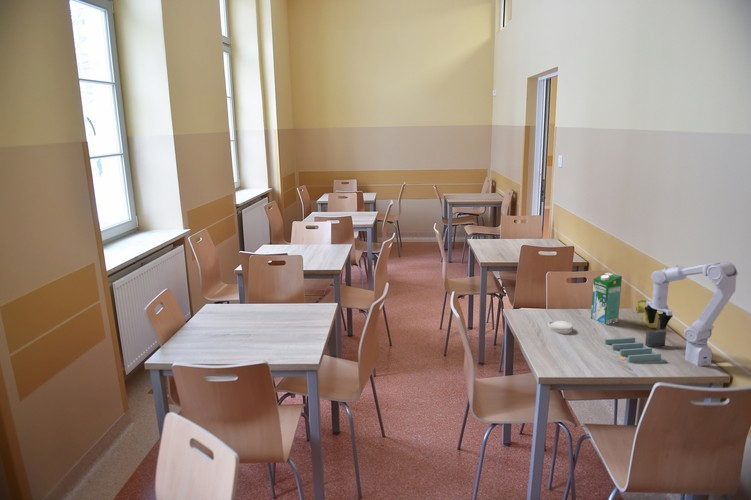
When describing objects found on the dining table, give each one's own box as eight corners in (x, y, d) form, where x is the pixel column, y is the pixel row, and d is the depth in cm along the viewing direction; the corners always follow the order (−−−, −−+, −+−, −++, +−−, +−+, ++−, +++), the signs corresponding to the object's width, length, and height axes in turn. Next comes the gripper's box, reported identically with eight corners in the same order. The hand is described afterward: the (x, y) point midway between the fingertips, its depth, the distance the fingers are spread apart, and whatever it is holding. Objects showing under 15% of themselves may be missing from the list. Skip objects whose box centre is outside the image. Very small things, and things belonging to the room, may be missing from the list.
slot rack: (666, 362, 218) (667, 354, 217) (625, 365, 216) (626, 357, 215) (636, 343, 238) (636, 336, 237) (598, 345, 236) (599, 338, 235)
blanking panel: (664, 346, 234) (666, 331, 232) (647, 347, 233) (649, 332, 231) (661, 344, 236) (663, 330, 234) (645, 345, 235) (646, 331, 233)
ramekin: (552, 328, 258) (553, 318, 256) (575, 333, 251) (576, 323, 250) (543, 335, 249) (544, 325, 248) (567, 340, 242) (567, 330, 241)
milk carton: (590, 321, 266) (593, 274, 261) (603, 318, 270) (607, 271, 264) (604, 327, 258) (608, 278, 253) (618, 324, 262) (622, 275, 256)
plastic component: (657, 329, 254) (659, 310, 251) (640, 328, 255) (642, 309, 253) (644, 316, 273) (646, 297, 270) (629, 315, 274) (631, 297, 272)
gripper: (679, 300, 223) (676, 330, 226) (657, 291, 237) (654, 319, 240) (664, 301, 222) (661, 332, 225) (642, 292, 237) (640, 320, 239)
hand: (656, 325), depth 233 cm, fingers open, 7 cm apart
